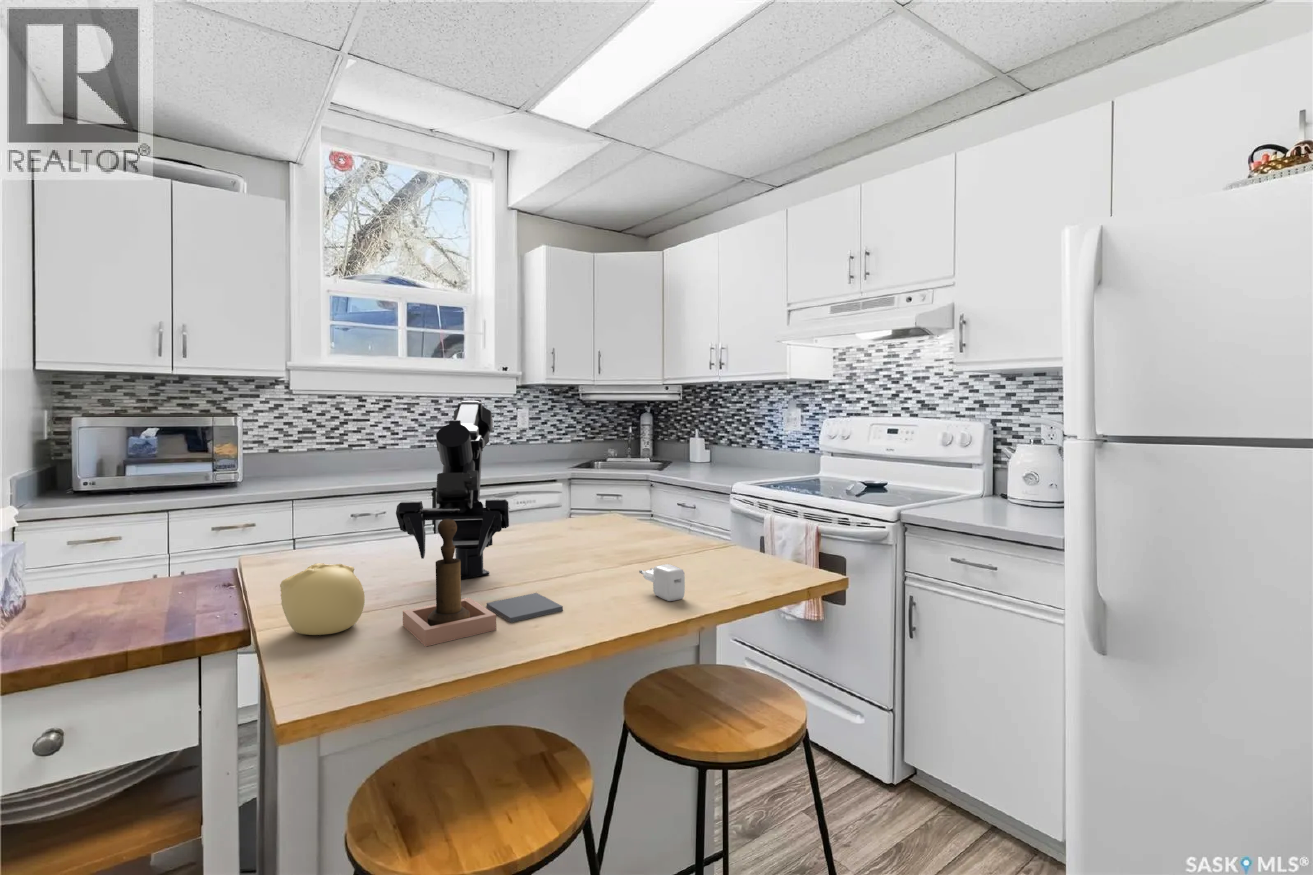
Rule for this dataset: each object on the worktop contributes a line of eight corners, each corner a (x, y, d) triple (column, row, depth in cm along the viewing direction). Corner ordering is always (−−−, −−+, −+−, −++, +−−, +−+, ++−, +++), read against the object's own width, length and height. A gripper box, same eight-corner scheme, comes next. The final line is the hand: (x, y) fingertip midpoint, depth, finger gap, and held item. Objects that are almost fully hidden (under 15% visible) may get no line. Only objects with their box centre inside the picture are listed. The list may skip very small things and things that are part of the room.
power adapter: (635, 588, 126) (635, 559, 125) (655, 584, 128) (655, 556, 128) (666, 603, 116) (666, 572, 116) (688, 599, 119) (688, 568, 119)
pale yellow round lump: (344, 612, 111) (342, 552, 111) (377, 628, 104) (376, 563, 103) (272, 630, 102) (270, 565, 102) (303, 649, 95) (301, 578, 94)
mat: (486, 607, 114) (486, 603, 114) (536, 596, 120) (536, 592, 120) (510, 622, 106) (510, 618, 106) (562, 610, 112) (562, 606, 112)
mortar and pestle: (469, 619, 108) (468, 514, 107) (470, 632, 102) (469, 521, 101) (428, 623, 106) (426, 517, 105) (426, 637, 100) (424, 524, 99)
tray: (402, 625, 105) (402, 610, 105) (469, 611, 112) (469, 597, 112) (425, 646, 96) (425, 630, 96) (496, 629, 103) (496, 614, 103)
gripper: (397, 455, 109) (383, 531, 99) (507, 454, 113) (505, 526, 102) (406, 494, 117) (395, 568, 107) (509, 492, 121) (508, 563, 111)
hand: (450, 556), depth 107 cm, fingers open, 9 cm apart
